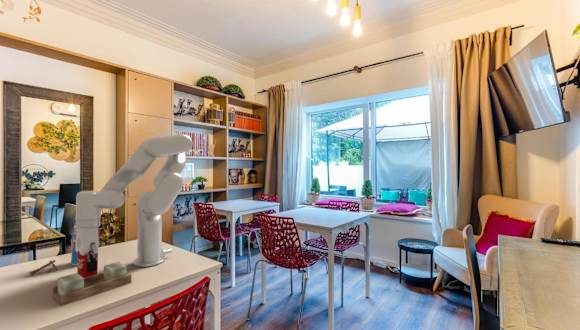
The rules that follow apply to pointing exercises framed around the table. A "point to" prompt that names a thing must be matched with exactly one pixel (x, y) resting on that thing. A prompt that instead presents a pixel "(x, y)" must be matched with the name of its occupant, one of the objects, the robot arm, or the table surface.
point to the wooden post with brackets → (44, 267)
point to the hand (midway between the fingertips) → (87, 268)
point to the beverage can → (84, 266)
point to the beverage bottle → (73, 241)
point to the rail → (90, 283)
